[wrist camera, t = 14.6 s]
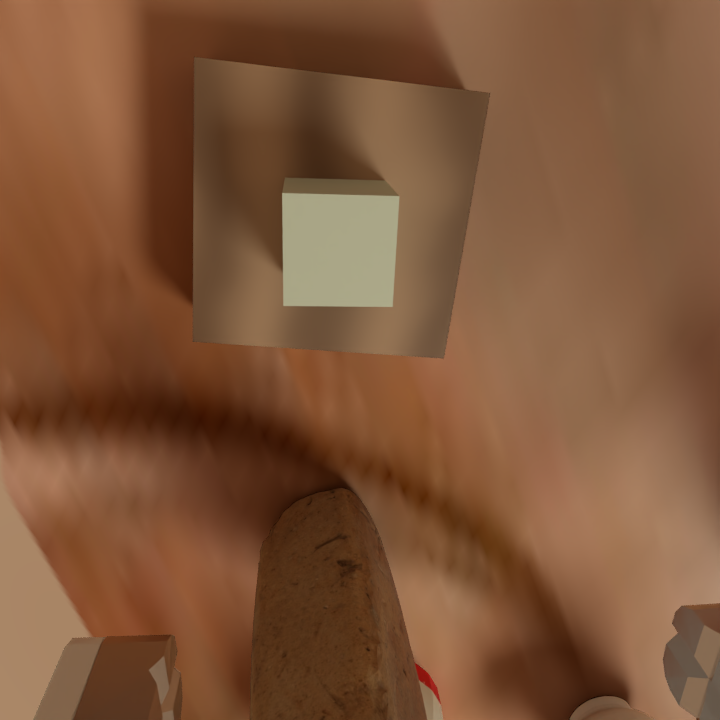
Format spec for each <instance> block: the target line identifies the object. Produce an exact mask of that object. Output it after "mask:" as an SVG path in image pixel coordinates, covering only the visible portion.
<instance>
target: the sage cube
mask: <svg viewBox="0 0 720 720" xmlns="http://www.w3.org/2000/svg"><path fill="white" fill-rule="evenodd" d="M398 212H399V195H398V194H397V193H396V192H395V191H394V190H393V188H392V187H391V186H390V185H389V184H388V183H387V182H386V181H385V180H350V179H315V178H285V181H284V186H283V191H282V225H283V306H343V307H393V293H394V277H395V261H396V244H397V228H398Z"/></svg>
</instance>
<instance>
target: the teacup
mask: <svg viewBox="0 0 720 720" xmlns="http://www.w3.org/2000/svg"><path fill="white" fill-rule="evenodd" d="M570 720H655V719H654V718H652V717H651V716H649V715H648V714H646V713H644V712H641V711H639V710H635V709H631V708H630V706H629V704H628V703H627V702H626V701H625V700H623V699H621V698H619V697H614V696H603V697H597V698H594V699H591V700H588V701H586V702H585V703H583V704H582V705H580V706H579V707H578V708H577V709H576V710H575V711H574V712H573V714H572V715H571V717H570Z"/></svg>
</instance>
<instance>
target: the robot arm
mask: <svg viewBox="0 0 720 720" xmlns="http://www.w3.org/2000/svg"><path fill="white" fill-rule="evenodd" d="M672 624H673V626H674V627H675V629H676V630H677V632H678V634H676V635H675V636H674V637H673V638H672V639H671V640H670V641H669V642H668V643H667V644H666V648H665V652H664V657H663V664H664V671H665V677H666V680H667V683H668V685H669V688H670V691H671V692H672V694H673V696H674V698H675V699H676V701H677V703H678V704H679V706H680V707H682V708H683V709H685V710H686V711H687V712H689V713H690V714H692V715H693V716H694V717H696V720H720V603H716V604H701V605H686V606H681V607H680V608H679V609H678V610H677V611H676V612H675V615H674V619H673V622H672ZM176 656H177V647H176V641H175V636H173V635H138V636H107V637H89V638H72V640H71V641H70V642H69V643H68V644H67V646H66V647H65V648H64V650H63V652H62V655H61V657H60V660H59V662H58V664H57V666H56V669H55V671H54V673H53V676H52V678H51V680H50V682H49V685H48V687H47V690H46V692H45V694H44V696H43V699H42V701H41V703H40V706H39V708H38V710H37V712H36V715H35V717H34V720H181V709H182V681H181V673H180V672H179V671H178V670H177V669H176V668H174V665H175V661H176Z"/></svg>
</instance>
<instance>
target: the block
mask: <svg viewBox="0 0 720 720" xmlns="http://www.w3.org/2000/svg"><path fill="white" fill-rule="evenodd" d="M250 720H427V715H426V710H425V705H424V701H423V696H422V692H421V688H420V683H419V678H418V674H417V670H416V666H415V662H414V658H413V654H412V650H411V647H410V643H409V639H408V634H407V630H406V626H405V622H404V618H403V614H402V610H401V606H400V602H399V599H398V595H397V591H396V588H395V584H394V581H393V577H392V574H391V570H390V567H389V564H388V561H387V558H386V555H385V551H384V547H383V544H382V541H381V539H380V536H379V533H378V531H377V528H376V526H375V524H374V522H373V520H372V518H371V516H370V514H369V512H368V510H367V509H366V507H365V506H364V505H363V503H362V502H361V500H360V499H359V498H358V497H357V496H356V495H355V494H354V493H353V492H351V491H350V490H347V489H344V488H337V489H333V490H330V491H324V492H318V493H315V494H313V495H310V496H307V497H305V498H303V499H301V500H298V501H296V502H294V503H293V504H292V505H291V507H289V508H288V509H287V510H285V511H284V512H283V514H282V516H281V517H280V519H279V521H278V522H277V523H276V524H275V525H274V526H273V527H272V529H271V530H270V535H269V536H268V537H267V538H266V540H265V541H264V542H263V544H262V547H261V550H260V561H259V567H258V578H257V587H256V597H255V609H254V620H253V640H252V654H251V682H250Z"/></svg>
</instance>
